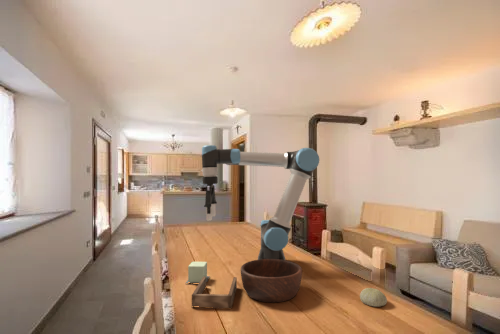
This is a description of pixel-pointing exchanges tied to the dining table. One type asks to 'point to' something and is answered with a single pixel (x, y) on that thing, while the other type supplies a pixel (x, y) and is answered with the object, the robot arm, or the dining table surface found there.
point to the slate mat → (199, 282)
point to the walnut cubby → (213, 296)
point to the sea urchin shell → (373, 297)
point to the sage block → (197, 271)
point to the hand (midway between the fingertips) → (211, 218)
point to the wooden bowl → (271, 279)
